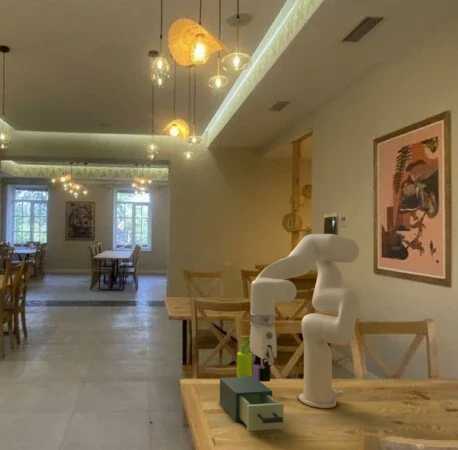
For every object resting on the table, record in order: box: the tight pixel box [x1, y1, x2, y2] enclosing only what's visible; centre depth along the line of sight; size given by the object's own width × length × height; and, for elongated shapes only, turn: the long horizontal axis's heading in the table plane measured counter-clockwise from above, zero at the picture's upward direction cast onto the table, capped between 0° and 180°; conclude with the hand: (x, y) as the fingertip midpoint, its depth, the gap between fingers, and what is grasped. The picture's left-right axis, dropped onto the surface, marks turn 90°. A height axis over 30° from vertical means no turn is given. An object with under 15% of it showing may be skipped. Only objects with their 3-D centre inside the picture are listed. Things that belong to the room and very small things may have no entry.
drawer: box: [238, 394, 284, 432], centre depth 129 cm, size 18×11×7 cm, turn 12°
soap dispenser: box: [236, 335, 253, 377], centre depth 164 cm, size 6×7×20 cm
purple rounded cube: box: [252, 363, 261, 382], centre depth 130 cm, size 4×4×4 cm
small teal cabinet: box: [219, 375, 273, 423], centre depth 140 cm, size 15×13×9 cm
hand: (261, 378), depth 130 cm, fingers closed on purple rounded cube, 4 cm apart
